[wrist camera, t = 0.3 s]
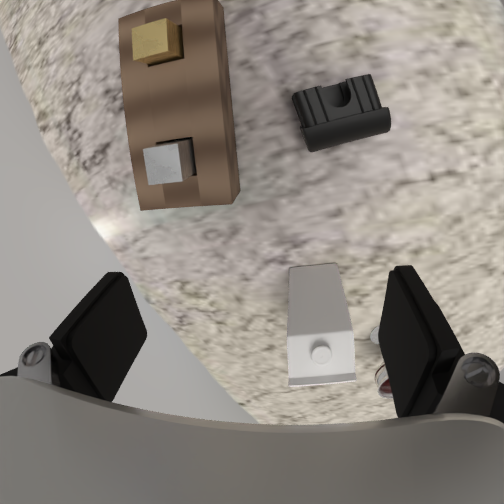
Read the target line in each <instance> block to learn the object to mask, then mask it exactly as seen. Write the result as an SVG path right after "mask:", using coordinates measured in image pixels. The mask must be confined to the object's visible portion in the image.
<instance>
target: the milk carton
mask: <svg viewBox="0 0 504 504" xmlns="http://www.w3.org/2000/svg"><path fill="white" fill-rule="evenodd" d="M287 351H288V372H289V384H288V386H289V387H296V386H312V385H324V384H335V383H344V382H353V381H356V374H355V350H354V333H353V328H352V323H351V319H350V314H349V310H348V306H347V301H346V297H345V293H344V289H343V285H342V281H341V277H340V273H339V269H338V265H337V263H332V264H322V265H312V266H301V267H292V268H289V297H288V323H287Z"/></svg>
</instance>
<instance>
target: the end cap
mask: <svg viewBox="0 0 504 504" xmlns="http://www.w3.org/2000/svg"><path fill="white" fill-rule="evenodd" d="M292 100H293V102H294V105H295V108H296V110H297V113H298V116H299V119H300V121H301V124H302V127H300V128H301V131H302V134H303V137H304V139H305V142H306V145H307V148H308V150H309V151H310V152H315V151H318V150H322V149H325V148H329V147H332V146H336V145H340V144H343V143H347V142H351V141H354V140H358V139H362V138H366V137H370V136H374V135H378V134H382V133H387V132H388V131H390V128H391V116H390V111H389V108H388V107H382V106H381V103H380V100H379V97H378V94H377V91H376V88H375V85H374V82H373V79H372V77H371V74H368V75H363V76H358V77H354V78H349V79H346V82H342V83H339V84H336V85H332V86H328V87H324V88H322V87H321V86H317V87H313V88H310V89H306V90H303V91H299V92H296V93H294V94H293V96H292Z"/></svg>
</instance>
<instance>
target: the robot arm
mask: <svg viewBox="0 0 504 504" xmlns="http://www.w3.org/2000/svg"><path fill="white" fill-rule="evenodd" d="M146 338H147V330H146V328H145V325H144V323H143V320H142V317H141V315H140V312H139V309H138V306H137V303H136V301H135V298H134V295H133V292H132V289H131V286H130V283H129V280H128V278H127V277H126V276H125V275H124V274H123V273H122V272H108V273H107V274H105V275H104V276H103V278H102V279H101V280H100V281H99V282H98V283H97V284H96V285H95V286H94V287H93V288H92V289H91V290H90V291H89V292H88V294H87V295H86V296H85V297H84V298H83V299H82V300H81V302H79V304H78V305H77V306H76V307H75V308H74V309H73V310H72V311H71V313H70V314H69V315H68V316H67V317H66V318H65V319H64V321H63V322H62V323H61V324H60V325H59V326H58V328H57V329H56V330H55V331H54V332H53V334H52V335H51V336H50V337H49V339H50V340H51V342H52V344H53V347H52V348H50V346H49V345H48V344H47V343H45V342H38V343H34V344H32V345H30V346H29V347H27V348H26V349H25V350H24V351H23V352H22V354H21V356H20V358H19V364H18V367H17V368H15V369H13V370H10V371H8V372H6V373H3V374H1V375H0V504H504V384H502V383H501V382H499V379H500V373H499V369H498V367H497V365H496V364H495V362H494V361H493V360H492V359H491V358H489V357H488V356H486V355H484V354H480V353H469V354H464V352H463V350H462V348H461V346H460V344H459V342H458V340H457V338H456V336H455V334H454V333H453V331H452V329H451V327H450V325H449V324H448V322H447V320H446V318H445V316H444V315H443V313H442V311H441V309H440V308H439V306H438V305H437V303H436V302H435V301H434V300H433V298H432V296H431V295H430V293H429V291H428V290H427V288H426V287H425V285H424V283H423V282H422V280H421V279H420V277H419V275H418V274H417V272H416V271H415V269H414V268H413V266H412V265H407V266H396V267H395V268H394V270H392V271H390V272H389V277H388V283H387V289H386V295H385V301H384V306H383V311H382V316H381V321H380V326H379V331H378V341H379V345H380V348H381V352H382V356H383V359H384V363H385V367H386V371H387V375H388V379H389V383H390V387H391V391H392V395H393V399H394V404H395V408H396V413H397V416H398V418H394V419H386V420H378V421H367V422H355V423H339V424H319V425H270V424H249V423H234V422H222V421H212V420H205V419H196V418H189V417H182V416H176V415H170V414H164V413H159V412H153V411H148V410H143V409H139V408H134V407H129V406H124V405H121V404H116V403H112V401H113V399H114V397H115V395H116V393H117V392H118V390H119V388H120V386H121V384H122V382H123V380H124V378H125V376H126V375H127V373H128V371H129V369H130V367H131V365H132V364H133V362H134V360H135V358H136V356H137V355H138V353H139V351H140V349H141V347H142V346H143V344H144V342H145V340H146Z"/></svg>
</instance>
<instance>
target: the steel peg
mask: <svg viewBox="0 0 504 504" xmlns="http://www.w3.org/2000/svg"><path fill="white" fill-rule="evenodd" d="M143 153H144V160H145V166H146V172H147V178H148V184H149V185H155V184H163V183H172V182H182V181H184V180H186V179H187V178H188V177H190V176H191V175H193V174H194V173H196V172H197V170H196V162H195V154H194V146H193V138H192V139H185V140H178V141H172V142H165V143H161V144H158V145H154V146H151V147H148V148H145V149H143Z"/></svg>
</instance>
